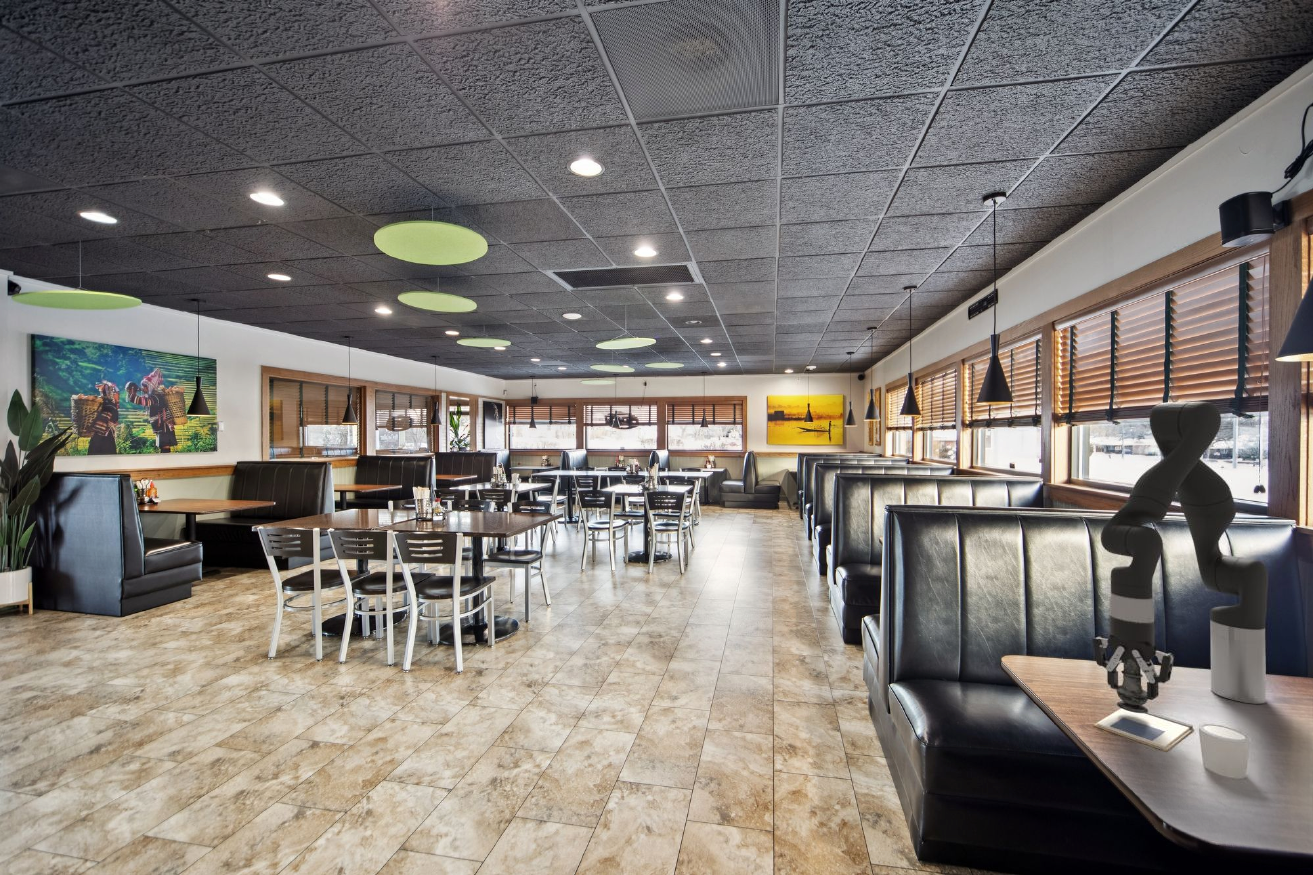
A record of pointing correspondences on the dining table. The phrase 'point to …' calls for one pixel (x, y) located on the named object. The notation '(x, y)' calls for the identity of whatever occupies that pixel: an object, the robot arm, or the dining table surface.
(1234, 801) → the dining table surface
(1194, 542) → the robot arm
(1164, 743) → the order pad
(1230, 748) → the shot glass
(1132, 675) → the dark grey chess bishop
